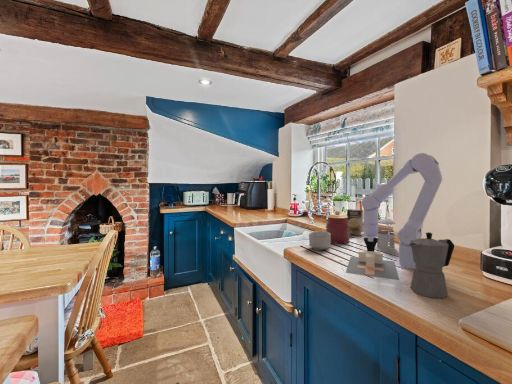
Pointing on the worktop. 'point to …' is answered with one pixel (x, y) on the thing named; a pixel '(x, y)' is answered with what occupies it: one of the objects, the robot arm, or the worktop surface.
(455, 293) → the worktop surface
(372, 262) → the t block
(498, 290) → the worktop surface
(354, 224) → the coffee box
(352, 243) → the worktop surface
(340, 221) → the canister
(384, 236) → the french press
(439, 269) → the coffeepot
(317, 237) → the teacup
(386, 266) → the slate mat
